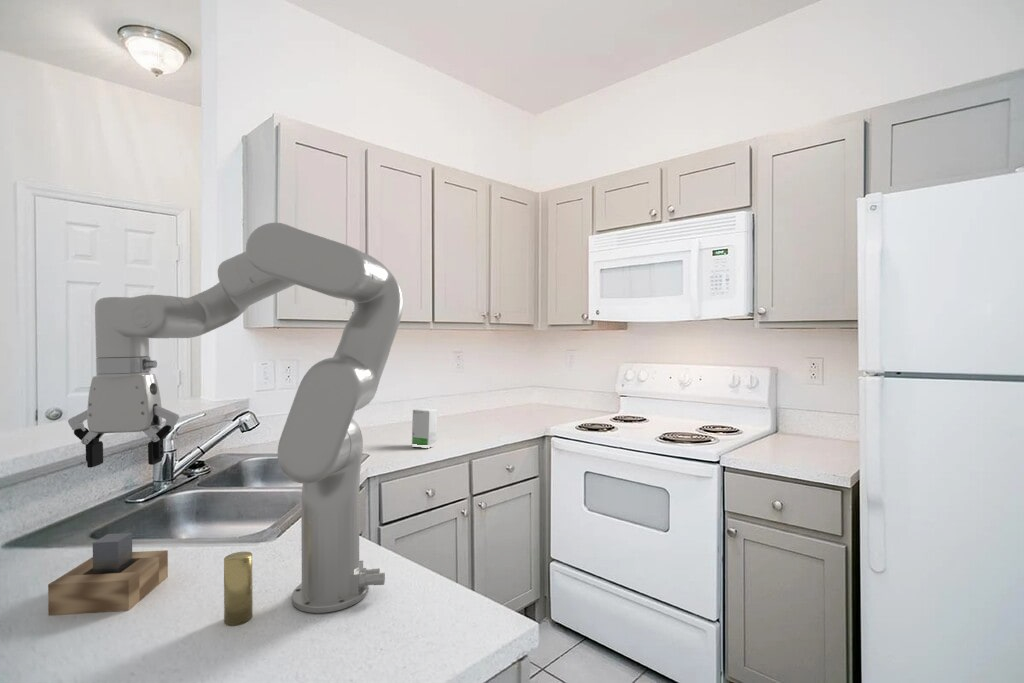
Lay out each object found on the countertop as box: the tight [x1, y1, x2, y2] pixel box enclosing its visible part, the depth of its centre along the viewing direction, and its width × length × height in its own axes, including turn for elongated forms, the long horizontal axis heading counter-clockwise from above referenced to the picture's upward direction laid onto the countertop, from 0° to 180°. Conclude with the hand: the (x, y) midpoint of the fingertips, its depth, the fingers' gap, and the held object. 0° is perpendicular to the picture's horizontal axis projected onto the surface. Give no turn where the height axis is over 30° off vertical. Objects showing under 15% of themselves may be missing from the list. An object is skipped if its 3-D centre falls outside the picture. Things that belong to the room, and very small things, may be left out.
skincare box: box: [411, 407, 438, 445], centre depth 211 cm, size 8×7×16 cm
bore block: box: [47, 550, 169, 616], centre depth 90 cm, size 12×12×5 cm
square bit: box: [92, 532, 133, 574], centre depth 90 cm, size 4×4×10 cm
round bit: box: [223, 551, 254, 627], centre depth 82 cm, size 4×4×10 cm
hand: (125, 464), depth 91 cm, fingers open, 9 cm apart
